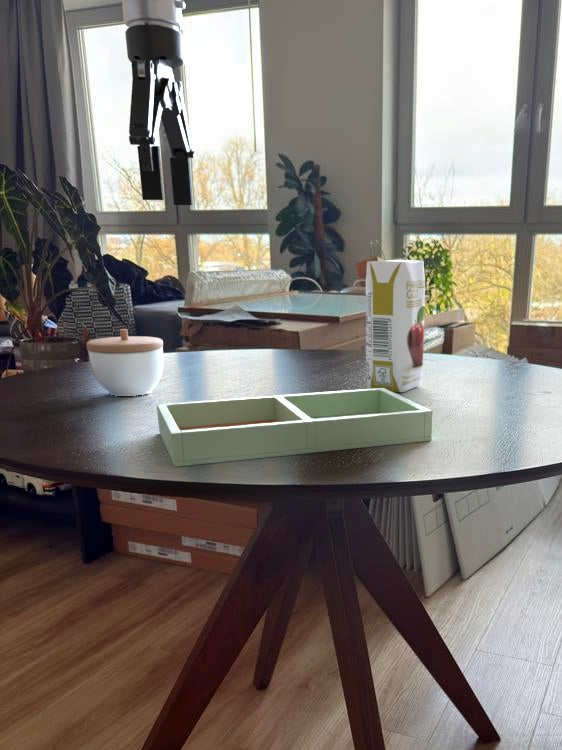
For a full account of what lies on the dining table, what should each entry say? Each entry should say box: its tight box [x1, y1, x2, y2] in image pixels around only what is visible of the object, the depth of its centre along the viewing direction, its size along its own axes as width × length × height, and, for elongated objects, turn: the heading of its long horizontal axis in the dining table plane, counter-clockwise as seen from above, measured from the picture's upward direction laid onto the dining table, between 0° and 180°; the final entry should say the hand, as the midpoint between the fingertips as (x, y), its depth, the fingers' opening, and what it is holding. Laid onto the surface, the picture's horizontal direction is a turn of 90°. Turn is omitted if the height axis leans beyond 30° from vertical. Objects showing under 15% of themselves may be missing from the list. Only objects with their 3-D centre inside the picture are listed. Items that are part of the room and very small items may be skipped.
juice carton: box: [365, 259, 426, 393], centre depth 111 cm, size 8×9×19 cm
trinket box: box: [86, 328, 165, 397], centre depth 107 cm, size 11×11×9 cm
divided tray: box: [156, 388, 433, 468], centre depth 85 cm, size 29×15×4 cm, turn 112°
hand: (169, 203), depth 104 cm, fingers open, 13 cm apart
